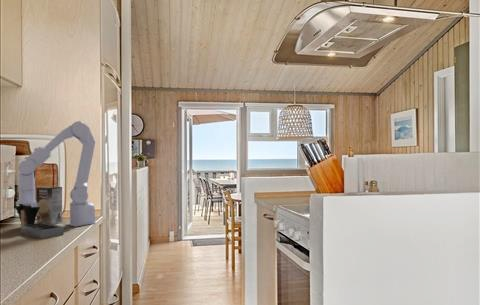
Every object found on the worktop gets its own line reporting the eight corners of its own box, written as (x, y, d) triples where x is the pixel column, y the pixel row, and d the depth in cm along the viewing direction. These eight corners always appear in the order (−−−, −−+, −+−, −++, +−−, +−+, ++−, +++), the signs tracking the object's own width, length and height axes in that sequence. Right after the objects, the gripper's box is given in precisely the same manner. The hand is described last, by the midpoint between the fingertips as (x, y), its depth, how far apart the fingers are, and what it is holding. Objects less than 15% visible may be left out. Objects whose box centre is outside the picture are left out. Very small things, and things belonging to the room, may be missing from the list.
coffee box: (35, 224, 161) (34, 187, 161) (47, 221, 167) (47, 186, 167) (51, 225, 158) (51, 187, 158) (63, 222, 164) (62, 186, 164)
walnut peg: (30, 228, 151) (30, 209, 151) (34, 229, 148) (33, 209, 148) (20, 230, 148) (20, 210, 148) (24, 231, 146) (24, 211, 146)
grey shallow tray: (43, 229, 148) (43, 222, 148) (63, 234, 137) (63, 226, 137) (22, 233, 142) (22, 225, 142) (41, 238, 131) (40, 230, 131)
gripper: (9, 190, 150) (9, 223, 150) (23, 191, 141) (23, 227, 141) (27, 188, 155) (28, 220, 155) (42, 190, 146) (43, 224, 146)
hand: (27, 223), depth 148 cm, fingers open, 6 cm apart
